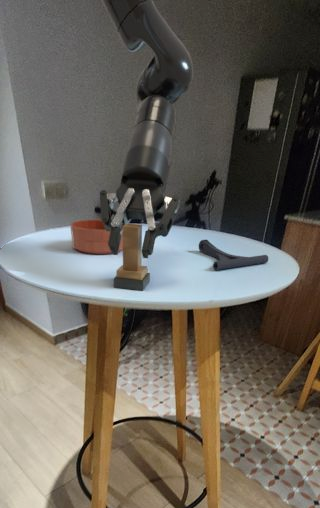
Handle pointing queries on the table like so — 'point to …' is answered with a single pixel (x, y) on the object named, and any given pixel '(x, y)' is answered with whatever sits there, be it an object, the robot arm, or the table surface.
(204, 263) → the table surface
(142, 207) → the robot arm
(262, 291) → the table surface
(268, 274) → the table surface
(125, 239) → the wooden block on stand
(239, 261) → the dark branching pipe
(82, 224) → the bowl
